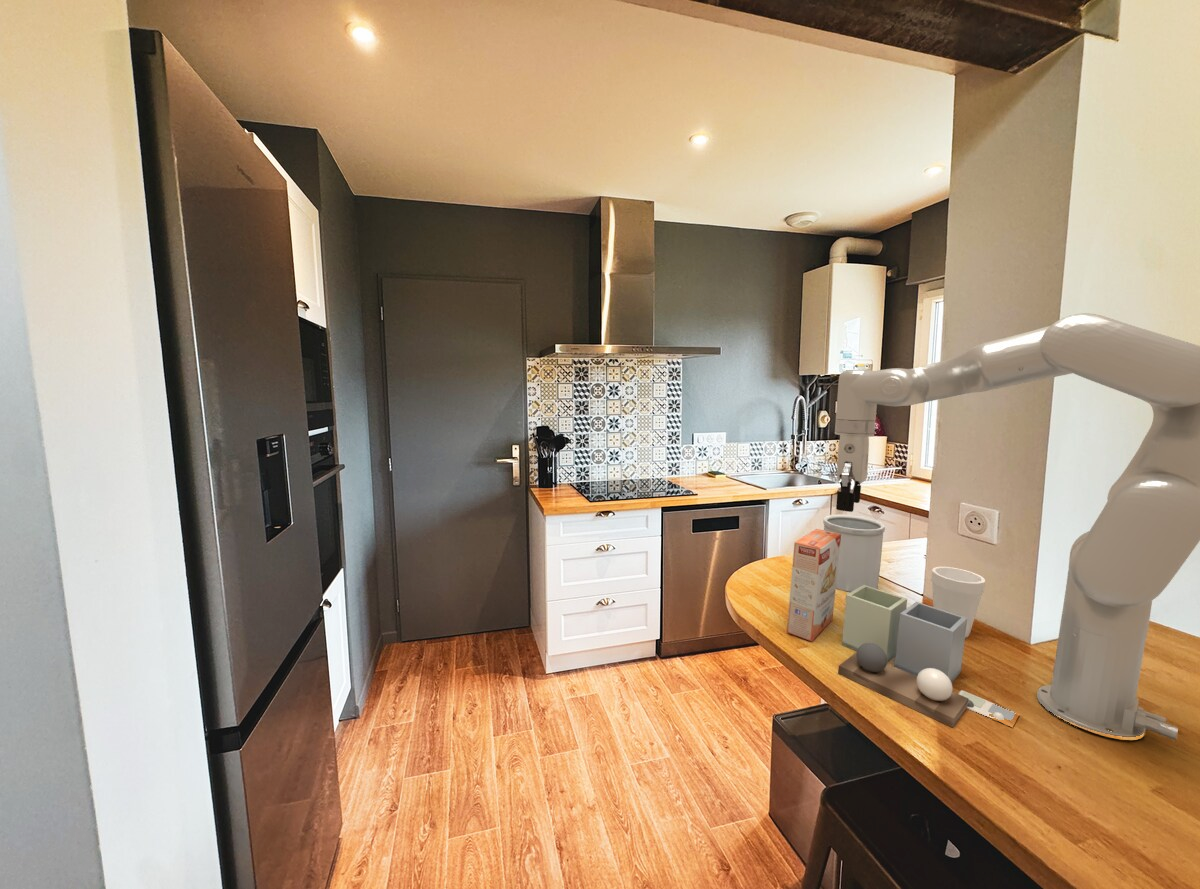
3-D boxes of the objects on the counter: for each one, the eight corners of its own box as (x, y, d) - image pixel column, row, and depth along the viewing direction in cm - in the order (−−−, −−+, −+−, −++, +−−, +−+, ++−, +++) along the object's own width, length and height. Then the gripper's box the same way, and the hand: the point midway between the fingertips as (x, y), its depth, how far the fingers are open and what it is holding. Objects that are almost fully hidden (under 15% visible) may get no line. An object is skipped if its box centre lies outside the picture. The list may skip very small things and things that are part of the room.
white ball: (954, 699, 81) (958, 672, 80) (945, 711, 78) (948, 683, 77) (921, 685, 85) (924, 658, 84) (910, 696, 82) (913, 668, 81)
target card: (1019, 717, 79) (1020, 709, 79) (1012, 730, 76) (1013, 722, 76) (961, 692, 85) (962, 685, 85) (952, 704, 82) (953, 696, 82)
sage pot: (902, 649, 98) (907, 598, 97) (885, 663, 93) (890, 610, 92) (859, 632, 105) (863, 584, 103) (841, 644, 100) (846, 594, 98)
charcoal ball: (890, 671, 89) (892, 646, 88) (879, 681, 85) (881, 655, 85) (862, 659, 92) (864, 635, 92) (850, 668, 89) (852, 643, 89)
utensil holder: (823, 590, 127) (828, 526, 124) (815, 569, 141) (820, 511, 139) (885, 598, 122) (892, 532, 120) (871, 576, 137) (876, 516, 134)
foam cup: (989, 639, 103) (996, 581, 101) (954, 643, 101) (961, 585, 99) (948, 618, 112) (954, 565, 111) (916, 621, 110) (921, 568, 108)
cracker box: (814, 643, 100) (821, 547, 97) (785, 633, 104) (792, 540, 101) (835, 620, 110) (842, 532, 107) (808, 611, 114) (814, 527, 112)
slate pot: (960, 672, 91) (967, 617, 89) (946, 689, 85) (953, 631, 84) (910, 652, 97) (916, 601, 96) (894, 667, 92) (900, 613, 90)
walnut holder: (967, 707, 81) (968, 698, 81) (952, 727, 76) (953, 718, 76) (856, 658, 95) (857, 651, 94) (838, 673, 90) (838, 665, 89)
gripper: (869, 432, 93) (862, 517, 95) (878, 426, 107) (872, 501, 109) (827, 429, 97) (821, 511, 99) (841, 424, 111) (836, 496, 113)
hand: (848, 506), depth 104 cm, fingers open, 9 cm apart
